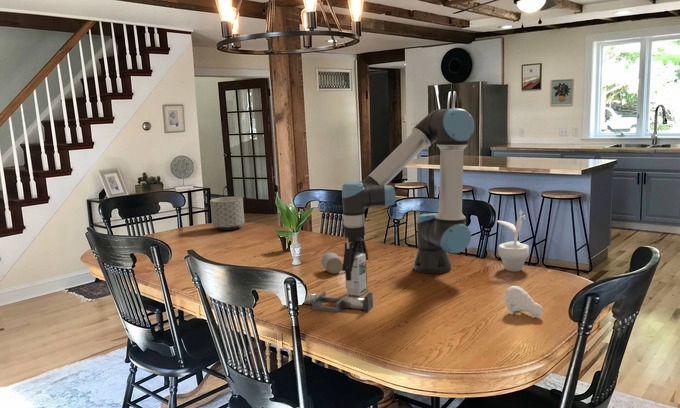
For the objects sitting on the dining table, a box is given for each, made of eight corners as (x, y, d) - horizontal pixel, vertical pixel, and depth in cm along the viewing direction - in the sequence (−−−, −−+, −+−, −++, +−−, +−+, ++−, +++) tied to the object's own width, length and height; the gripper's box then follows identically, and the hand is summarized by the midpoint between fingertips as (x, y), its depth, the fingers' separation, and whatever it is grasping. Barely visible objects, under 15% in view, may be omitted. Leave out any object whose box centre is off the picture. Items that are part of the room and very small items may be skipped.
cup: (298, 251, 258) (294, 231, 257) (280, 254, 258) (275, 234, 257) (299, 247, 267) (296, 228, 266) (282, 250, 267) (278, 231, 266)
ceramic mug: (327, 275, 219) (326, 257, 217) (321, 270, 226) (320, 252, 225) (351, 272, 222) (351, 254, 221) (345, 267, 229) (344, 250, 228)
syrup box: (360, 296, 192) (358, 257, 190) (346, 294, 195) (344, 255, 193) (367, 291, 197) (366, 253, 194) (354, 289, 200) (352, 251, 197)
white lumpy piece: (513, 281, 172) (549, 293, 164) (511, 306, 174) (546, 318, 166) (503, 286, 168) (538, 298, 160) (500, 311, 170) (535, 324, 162)
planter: (207, 232, 316) (205, 202, 313) (220, 225, 334) (217, 196, 331) (238, 232, 313) (236, 201, 310) (249, 225, 331) (246, 196, 328)
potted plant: (533, 268, 215) (534, 207, 211) (521, 275, 207) (521, 211, 203) (504, 263, 224) (504, 204, 219) (490, 270, 215) (490, 209, 211)
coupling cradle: (375, 304, 183) (374, 290, 182) (365, 314, 174) (365, 300, 173) (299, 297, 193) (299, 284, 193) (287, 307, 185) (286, 293, 184)
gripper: (356, 218, 205) (358, 272, 208) (330, 232, 182) (333, 292, 185) (375, 219, 202) (376, 273, 205) (351, 233, 179) (354, 294, 182)
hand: (356, 282), depth 195 cm, fingers open, 13 cm apart
